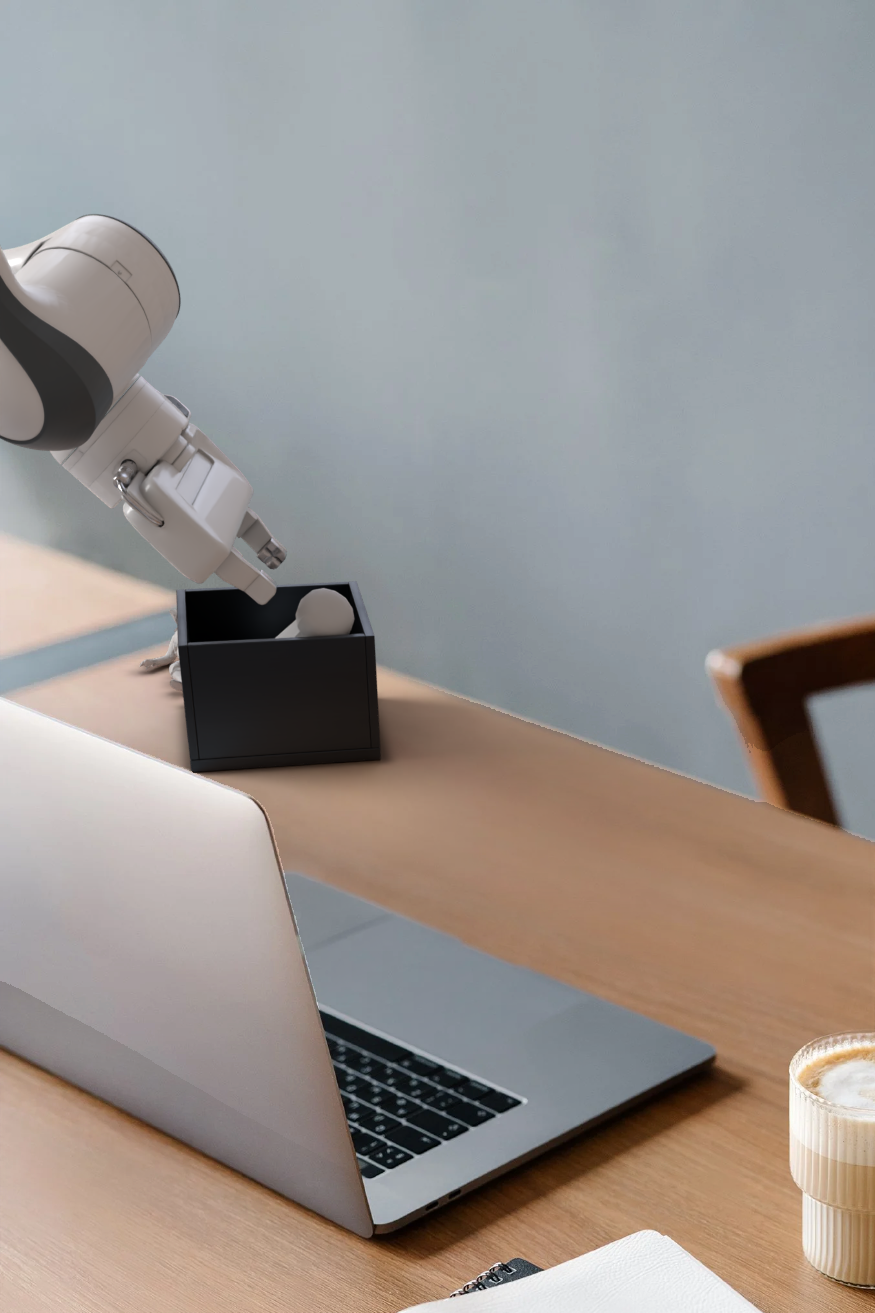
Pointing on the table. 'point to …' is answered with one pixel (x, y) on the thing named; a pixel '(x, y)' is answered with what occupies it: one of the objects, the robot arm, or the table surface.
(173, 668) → the soldier figure
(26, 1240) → the table surface
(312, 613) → the salt shaker
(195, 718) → the waste bin
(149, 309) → the robot arm
